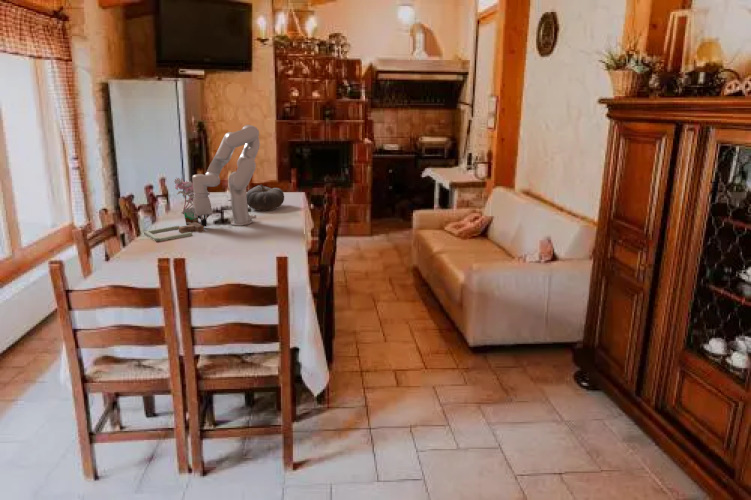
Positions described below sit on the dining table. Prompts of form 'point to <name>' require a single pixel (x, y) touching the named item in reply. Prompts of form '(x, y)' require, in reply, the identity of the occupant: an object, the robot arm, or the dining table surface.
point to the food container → (189, 216)
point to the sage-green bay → (166, 236)
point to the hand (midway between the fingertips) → (204, 225)
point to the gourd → (265, 198)
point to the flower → (187, 187)
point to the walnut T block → (191, 228)
